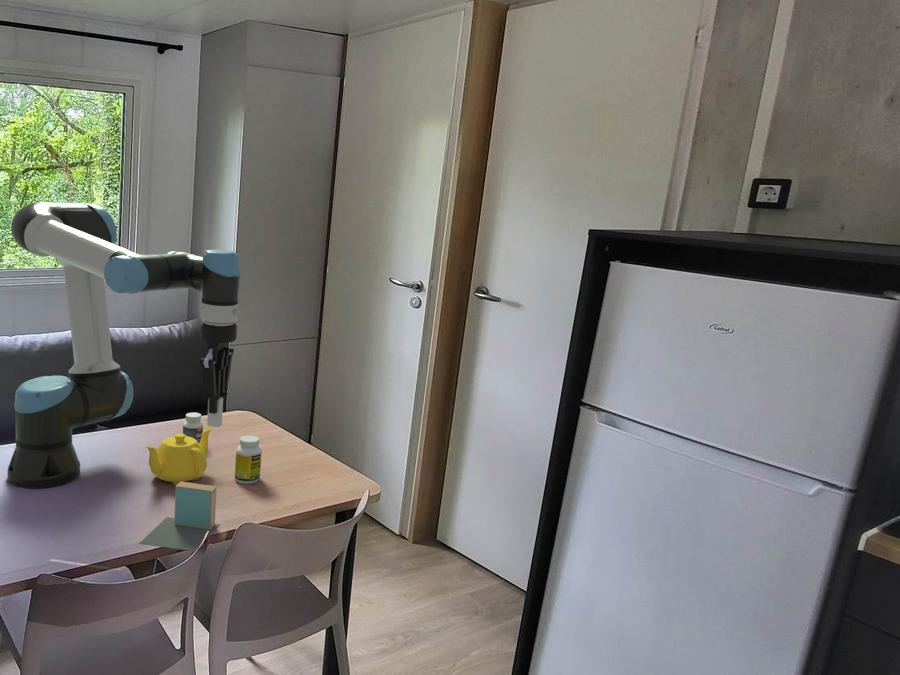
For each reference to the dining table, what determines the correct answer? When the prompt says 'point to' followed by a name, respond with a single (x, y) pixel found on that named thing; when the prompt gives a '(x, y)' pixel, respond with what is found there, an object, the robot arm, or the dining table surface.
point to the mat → (176, 536)
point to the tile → (195, 505)
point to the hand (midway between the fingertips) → (214, 425)
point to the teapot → (179, 458)
